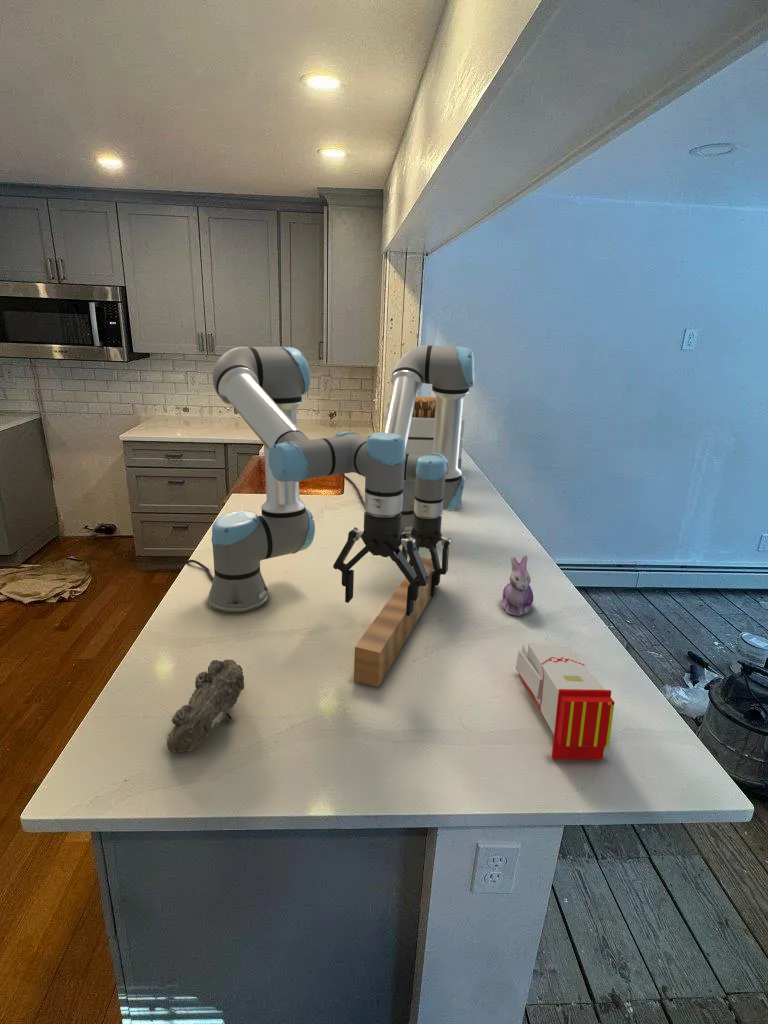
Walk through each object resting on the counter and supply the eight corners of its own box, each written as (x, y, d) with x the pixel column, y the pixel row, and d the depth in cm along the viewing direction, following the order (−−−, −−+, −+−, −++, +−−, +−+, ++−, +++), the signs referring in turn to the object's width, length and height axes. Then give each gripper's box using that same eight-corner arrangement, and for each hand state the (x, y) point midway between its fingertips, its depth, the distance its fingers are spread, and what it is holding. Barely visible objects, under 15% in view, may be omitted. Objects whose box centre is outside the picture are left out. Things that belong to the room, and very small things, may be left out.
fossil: (192, 660, 117) (244, 628, 112) (224, 691, 120) (276, 661, 115) (142, 746, 98) (202, 712, 93) (182, 779, 101) (242, 748, 96)
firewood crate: (382, 463, 289) (386, 382, 275) (445, 464, 293) (451, 384, 279) (390, 482, 257) (394, 392, 243) (460, 483, 261) (468, 394, 247)
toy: (564, 626, 126) (624, 698, 97) (558, 682, 129) (615, 767, 100) (510, 625, 126) (554, 696, 96) (506, 681, 128) (547, 766, 99)
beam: (418, 583, 165) (420, 556, 162) (437, 586, 163) (439, 560, 160) (353, 680, 120) (354, 646, 118) (378, 687, 119) (379, 652, 116)
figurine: (515, 620, 147) (523, 568, 141) (491, 602, 155) (497, 552, 150) (543, 613, 151) (551, 562, 146) (518, 596, 159) (525, 547, 154)
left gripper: (317, 508, 113) (317, 602, 120) (439, 528, 106) (431, 627, 113) (333, 497, 120) (332, 587, 127) (448, 515, 112) (440, 609, 119)
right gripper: (390, 513, 150) (386, 592, 158) (459, 524, 144) (451, 605, 152) (398, 505, 156) (394, 580, 164) (465, 515, 151) (457, 593, 159)
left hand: (378, 606), depth 120 cm, fingers open, 13 cm apart
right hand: (422, 592), depth 158 cm, fingers closed on beam, 5 cm apart
